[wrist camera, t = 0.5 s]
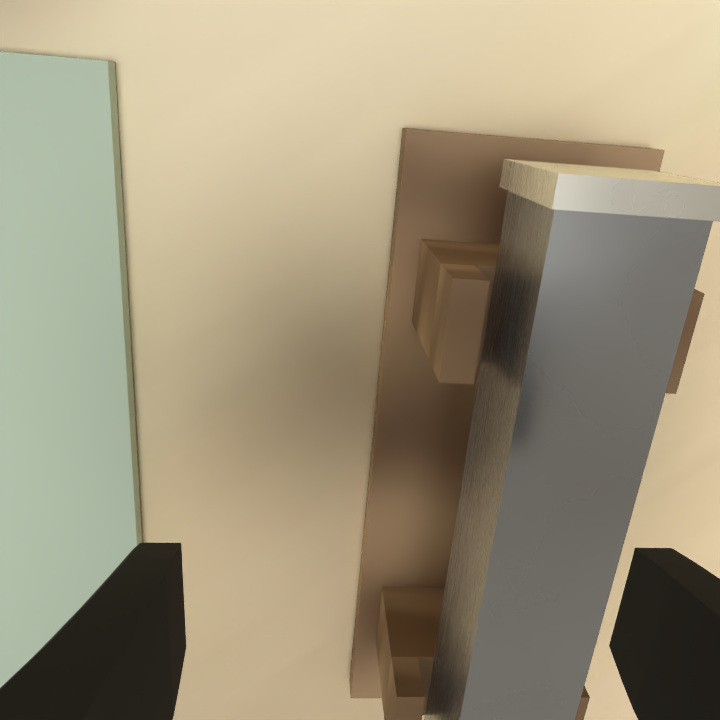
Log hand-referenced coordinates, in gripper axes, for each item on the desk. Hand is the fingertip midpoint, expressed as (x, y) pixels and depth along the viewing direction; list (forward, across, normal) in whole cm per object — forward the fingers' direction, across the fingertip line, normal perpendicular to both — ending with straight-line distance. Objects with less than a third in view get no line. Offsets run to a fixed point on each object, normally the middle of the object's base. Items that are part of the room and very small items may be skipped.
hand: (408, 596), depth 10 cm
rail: (+6, -4, +3) cm, 8 cm away
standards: (+10, -4, +3) cm, 11 cm away
